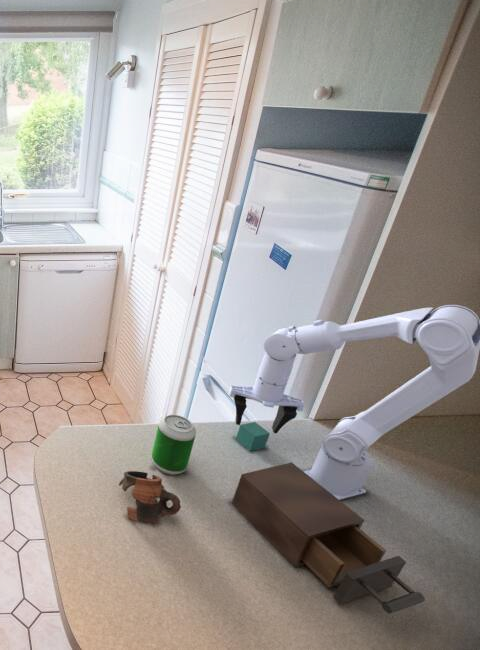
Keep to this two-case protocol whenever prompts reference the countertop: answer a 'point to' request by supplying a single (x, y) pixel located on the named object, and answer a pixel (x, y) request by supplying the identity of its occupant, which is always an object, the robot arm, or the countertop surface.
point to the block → (252, 436)
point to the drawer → (357, 567)
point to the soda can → (173, 444)
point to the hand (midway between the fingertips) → (255, 426)
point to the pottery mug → (148, 497)
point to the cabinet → (290, 508)
